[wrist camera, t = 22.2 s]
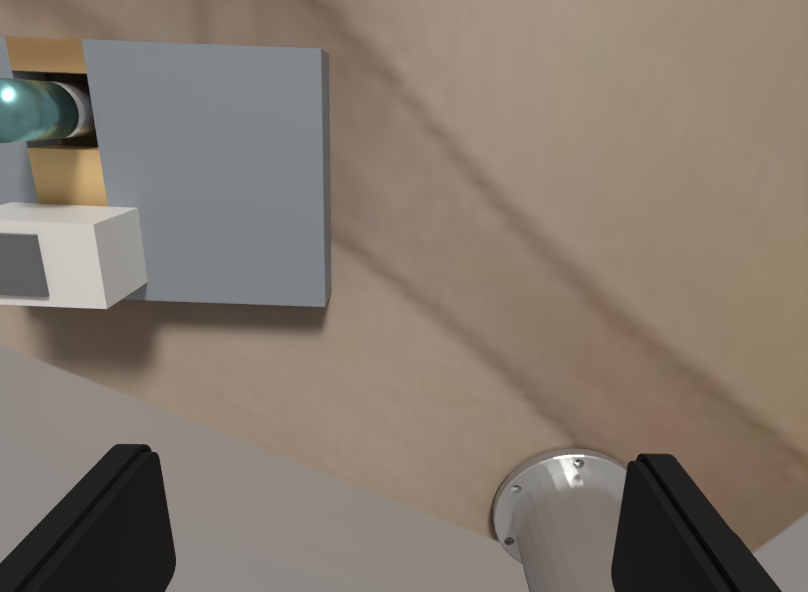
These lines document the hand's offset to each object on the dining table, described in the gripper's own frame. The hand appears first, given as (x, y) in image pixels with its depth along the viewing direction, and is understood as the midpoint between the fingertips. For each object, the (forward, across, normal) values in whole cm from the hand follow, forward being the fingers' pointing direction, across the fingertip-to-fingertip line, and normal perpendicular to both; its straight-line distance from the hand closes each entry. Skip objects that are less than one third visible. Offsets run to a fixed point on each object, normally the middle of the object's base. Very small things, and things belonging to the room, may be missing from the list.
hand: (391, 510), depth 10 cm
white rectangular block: (+24, +22, 0) cm, 32 cm away
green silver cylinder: (+27, +21, -8) cm, 35 cm away
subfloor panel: (+27, +16, -4) cm, 32 cm away
